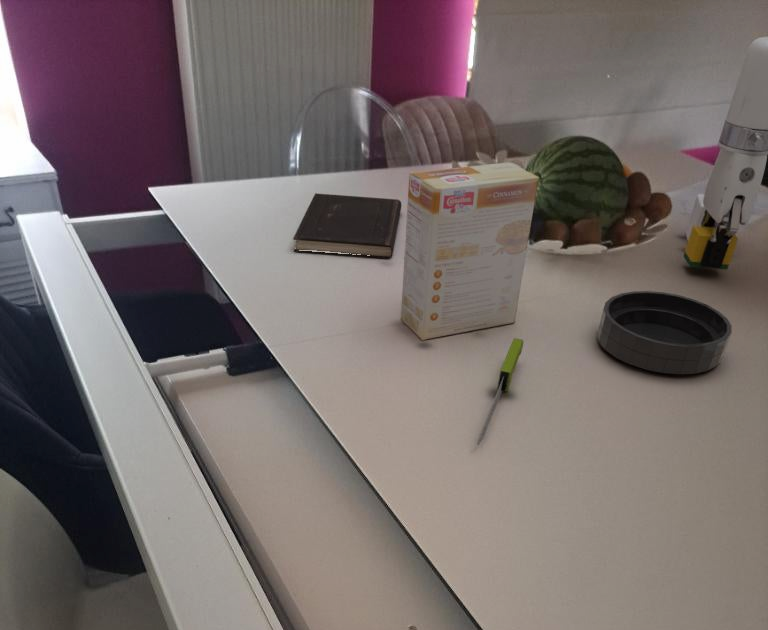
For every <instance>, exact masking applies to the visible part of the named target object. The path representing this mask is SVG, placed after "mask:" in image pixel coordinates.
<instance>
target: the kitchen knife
mask: <svg viewBox="0 0 768 630" xmlns="http://www.w3.org/2000/svg"><path fill="white" fill-rule="evenodd" d="M523 348H524V339H522V338H516V337H515V338H513V339H512V342H511V344H510V346H509V348H508V351H507V354H506V356H505V359H504V361H503V364H502V366H501V369H500V371H499V379H498V382H497V389H496V390H497V391H496V394H495V396H494V399H493V402H492V404H491V407H490V409H489V411H488V414H487V417H486V420H485V422H484V425H483V427H482V429H481V433H480V434H479V437H478V439H477V442H476V443H477V445H480V444H481V443H482V441H483V439H484V436H485V434H486V432H487V429H488V428H489V425H490V422H491V420H492V417H493V416H494V413H495V410H496V408H497V406H498V403H499V402H500V401H499V400H500V398H501V396H502V393H503V392H508V391H509V389H510V385H511V379H512V375H513V373H514V371H515V370H516V366H517V365H518V361H519V358H520V356H521V355H522V352H523Z"/></svg>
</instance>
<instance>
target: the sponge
mask: <svg viewBox="0 0 768 630" xmlns="http://www.w3.org/2000/svg"><path fill="white" fill-rule="evenodd" d="M713 229H714V227H703V226H693V227H692V231H691V234H690V237H689V240H688V241H687V243H686V247H685V249H684V253H683V258H684V260H685V261H686V263H687V265H688V267H691V268H703V269H712V270H713V269H715V270H724V271H725V270H728V268H729V265H730V262H731V260H732V257H733V255H734V251H735V249H736V246H737V243H738V241H739V238H738V236H737V234H736V235H735V234H734V235H733V237H732V240H731V242H730V244H729V246H728V249H727V252H726V254H725V257H724V260H723V263H722V266H721V267H720V268H713V267H702V266H701V264H700V263H701V260H702V257H703V254H704V251H705V248H706V245H707V242H708V240H711V236H712V232H713ZM721 229H722V228H720V229H719V231H720V230H721Z"/></svg>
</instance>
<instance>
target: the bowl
mask: <svg viewBox="0 0 768 630" xmlns="http://www.w3.org/2000/svg"><path fill="white" fill-rule="evenodd" d="M597 328H598V329H597V333H596V337H597V340H598V343H599V344H600V346H601V347H602V348H603V349H604V351H606V352H607V353H609V354H610V355H612V356H613V357H614V358H616V359H618V360H620V361H621V362H623V363H626V364H628V365H631V366H634V367H635V368H639V369H642V370H646V371H650V372H654V373H661V374H668V375H669V374H671V375H694V374H700V373H703V372H707V371H710V370H712V369H714V368H715V367H717V366H718V365H719V363H720V362H721V361H722V360H723V357H724V354H725V352H726V348H727V346H728V344H729V341H730V338H731V336H732V330H733V327H732V324H731V322H730V320H729V319H728V317H726V315H724V314H723V313H722V312H720V311H719V310H718V309H716V308H714V307H713V306H711V305H708V304H707V303H705V302H701V301H699V300H697V299H693V298H690V297H687V296H683V295H680V294H676V293H669V292H665V291H650V290H637V291H629V292H622V293H619V294H616V295H614V296H611V297H610V298H609V299H607V301H605V303H604V306H603V309H602V313H601V318H600V321H599V325H598V327H597Z"/></svg>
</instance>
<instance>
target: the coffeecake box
mask: <svg viewBox="0 0 768 630" xmlns="http://www.w3.org/2000/svg"><path fill="white" fill-rule="evenodd" d="M539 179H540V177H539V176H538V175H536V174H534V173H532V172H530V171H527V170H526V169H524V168H522V167H521V166H520V165H518V164H516V163H513V162H510V161H509V162H499V163H490V164H480V165H471V166H462V167H451V168H442V169H432V170H421V171H411V172H409V177H408V192H407V207H406V208H407V209H406V223H405V224H406V225H405V240H404V241H405V243H404V257H403V272H402V273H403V274H402V276H403V277H402V292H401V308H400V321H402V322H403V324H404V325H406V326H407V327H408V328H409V329H411V330H412V332H414V334H415V335H416V336H417V337H418V338H419V339H420V340H421V341H424V340H430V339H434V338H439V337H445V336H450V335H451V336H452V335H455V334H462V333H466V332H467V333H468V332H472V331H476V330H477V331H478V330H482V329H488V328H493V327H498V326H504V325H509V324H514V323H515V322H516V316H517V312H518V311H517V310H518V305H519V298H520V294H521V287H522V281H523V275H524V269H525V264H526V258H527V257H526V256H527V251H528V245H529V239H530V233H531V227H532V222H533V221H532V220H533V216H534V215H533V214H534V209H535V201H536V198H537V197H536V196H537V192H538V191H537V190H538V184H539Z"/></svg>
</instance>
